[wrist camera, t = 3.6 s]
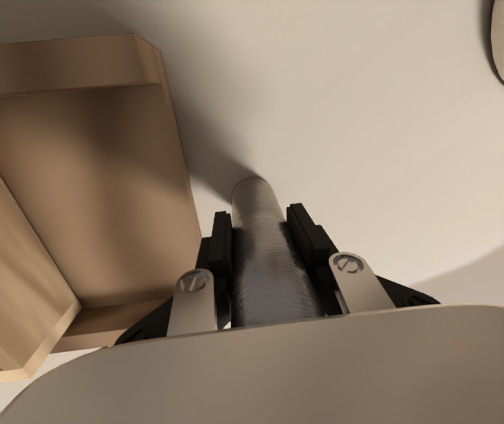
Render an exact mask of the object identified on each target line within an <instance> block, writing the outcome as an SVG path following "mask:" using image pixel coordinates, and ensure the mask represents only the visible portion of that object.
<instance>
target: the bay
mask: <svg viewBox="0 0 504 424" xmlns="http://www.w3.org/2000/svg"><path fill="white" fill-rule="evenodd" d="M0 177H1V179H2V180H3V182H4V183H5V185H6V187H7V188H8V190H9V191H10V193H11V195H12V196H13V198H14V199H15V201H16V203H17V204H18V206H19V207H20V209H21V211H22V212H23V214H24V215H25V217H26V219H27V220H28V222H29V223H30V225H31V226H32V228H33V230H34V231H35V233H36V234H37V236H38V238H39V239H40V241H41V242H42V244H43V246H44V247H45V249H46V250H47V252H48V254H49V255H50V257H51V258H52V260H53V262H54V263H55V265H56V266H57V268H58V269H59V271H60V273H61V274H62V276H63V277H64V279H65V281H66V282H67V284H68V285H69V287H70V289H71V290H72V292H73V293H74V295H75V297H76V298H77V300H78V301H79V303H80V305H81V306H82V308H81V310H80V311H79V313H78V314H77V315H76V317H75V318H74V320H73V321H72V322H71V324H70V325H69V327H68V328H67V329H66V331H65V332H64V334H63V335H62V336H61V338H60V339H59V341H58V342H57V343H56V345H55V346H54V348H53V349H52V350H51V352H50V353H49V354H52V353H59V352H67V351H75V350H82V349H90V348H98V347H104V346H106V345H107V346H113V345H114V343H115V342H116V340H117V339H118V338H119V336H120V335H121V334H123V333H124V332H125V331H126V330H127V329H129V328H130V327H131V326H133V325H134V324H136V323H137V322H138V321H140V320H141V319H142V318H144V317H145V316H146V315H148V314H149V313H151V312H152V311H153V310H155V309H156V308H157V307H159V306H160V305H161V304H163V303H164V302H166V301H167V300H168V299H170V298H171V297H172V296H174V292H175V286H176V283H177V280H178V279H179V278H180V277H181V276H182V275H183V274H184V273H186V272H188V271H190V270H193V269H195V266H196V261H197V257H198V252H199V248H200V243H201V239H202V235H201V231H200V226H199V222H198V218H197V213H196V209H195V204H194V200H193V195H192V191H191V186H190V182H189V177H188V173H187V168H186V164H185V159H184V155H183V150H182V146H181V141H180V137H179V132H178V128H177V123H176V119H175V114H174V110H173V105H172V101H171V96H170V92H169V87H168V83H167V79H166V74H165V70H164V65H163V61H162V56H161V52H160V50H159V49H157V48H156V47H154V46H153V45H151V44H150V43H148V42H147V41H145V40H144V39H142V38H141V37H139V36H138V35H136V34H134V33H129V34H116V35H104V36H92V37H80V38H68V39H55V40H43V41H31V42H19V43H7V44H0Z"/></svg>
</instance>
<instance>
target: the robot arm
mask: <svg viewBox="0 0 504 424" xmlns="http://www.w3.org/2000/svg"><path fill="white" fill-rule="evenodd" d="M491 43H492V52H493V59H494V62H495V64H496V67H497V70H498V73H499V75H500V77H501V78H502V79H503V81H504V0H495V2H494V6H493V11H492V26H491ZM287 225H288V227H289V230H290V232H291V234H292V237H293V239H294V241H295V244H296V246H297V248H298V251H299V253H300V255H301V258H302V260H303V263H304V265H305V267H306V270H307V272H308V274H309V277H310V279H311V281H312V284H313V286H314V288H315V291H316V293H317V296H318V298H319V300H320V303H321V305H322V307H323V310H324V312H325V314H326V316H325V317H317V318H309V319H300V320H292V321H284V322H276V323H268V324H260V325H252V326H244V327H236V328H228V329H224V327H225V326H226V325H227V324H228V323H229V322H231V284H232V222H231V215H230V213H229V214H226V211H222V212H215V217H214V224H213V230H212V237H205V238H202V239H201V243H200V248H199V252H198V257H197V261H196V266H195V269H193V270H190V271H188V272H186V273H184V274H183V275H182V276H181V277H180V278H179V279H178V280H177V283H176V286H175V292H174V296H172V297H171V298H170V299H168V300H167V301H166V302H164V303H163V304H161V305H160V306H159V307H157V308H156V309H155V310H153V311H152V312H151V313H149V314H148V315H146V316H145V317H144V318H142V319H141V320H140V321H138V322H137V323H136V324H134V325H133V326H131V327H130V328H129V329H127V330H126V331H125V332H124V333H123V334H121V335H120V336H119V338H118V339H117V340H116V342H115V343H114V345H113V346H111V347H108V346H107V345H106V346H104V347H102V348H100V349H98V350H96V351H94V352H91V353H88V354H85V355H82V356H80V357H77V358H75V359H73V360H71V361H69V362H66V363H64V364H62V365H60V366H58V367H56V368H54V369H52V370H51V371H49V372H47V373H45V374H44V375H42V376H41V377H39V378H37V379H36V380H35V381H33V382H32V383H31V384H29V385H28V386H27V387H26V388H25V389H23V390H22V391H21V392H20V393H19V394H18V395H17V396H16V397H15V398H14V399H13V400H12V401H11V402H10V403H9V404H8V405H7V407H6V408H5V409H4V410H3V411H2V412H1V413H0V424H504V306H500V305H493V304H492V305H491V304H480V303H450V304H441V303H440V302H438V301H437V300H436V299H434V298H433V297H430V296H428V295H426V294H424V293H421V292H419V291H416V290H414V289H411V288H408V287H406V286H403V285H401V284H398V283H395V282H393V281H390V280H387V279H385V278H382V277H380V276H377V275H375V274H374V273H373V271H372V270H371V268H370V267H369V265H368V264H367V262H366V261H365V260H364V259H363V258H361V257H360V256H358V255H356V254H353V253H349V252H339V251H338V249H337V248H336V246H335V245H334V244H333V242H332V241H331V239H330V238H329V236H328V235H327V233H326V232H325V230H324V229H323V227H322V226H321V225H315V224H314V222H313V221H312V219H311V217H310V216H309V214H308V213H307V211H306V210H305V208H304V206H303V205H302V203H296V204H290V207H287Z"/></svg>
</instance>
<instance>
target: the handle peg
mask: <svg viewBox="0 0 504 424" xmlns="http://www.w3.org/2000/svg"><path fill="white" fill-rule="evenodd" d="M325 316H326V314H325V312H324V310H323V307H322V305H321V303H320V300H319V298H318V296H317V293H316V291H315V288H314V286H313V284H312V281H311V279H310V277H309V274H308V272H307V270H306V267H305V265H304V263H303V260H302V258H301V255H300V253H299V251H298V248H297V246H296V244H295V241H294V239H293V237H292V234H291V232H290V230H289V227H288V225H287V222H286V220H285V218H284V215H283V213H282V211H281V208H280V206H279V204H278V201H277V199H276V197H275V194H274V192H273V189H272V187H271V186H270V185H269V184H268V183H267V182H266V181H265V180H263V179H260V178H248V179H245V180H243V181H241V182H240V183H239V184H238V185H237V186H236V187H235V189H234V191H233V194H232V284H231V328H236V327H244V326H252V325H260V324H268V323H276V322H284V321H292V320H300V319H309V318H317V317H325Z"/></svg>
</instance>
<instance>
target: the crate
mask: <svg viewBox="0 0 504 424" xmlns="http://www.w3.org/2000/svg"><path fill="white" fill-rule="evenodd" d="M81 308H82V306H81V305H80V303H79V301H78V300H77V298H76V297H75V295H74V293H73V292H72V290H71V289H70V287H69V285H68V284H67V282H66V281H65V279H64V277H63V276H62V274H61V273H60V271H59V269H58V268H57V266H56V265H55V263H54V262H53V260H52V258H51V257H50V255H49V254H48V252H47V250H46V249H45V247H44V246H43V244H42V242H41V241H40V239H39V238H38V236H37V234H36V233H35V231H34V230H33V228H32V226H31V225H30V223H29V222H28V220H27V219H26V217H25V215H24V214H23V212H22V211H21V209H20V207H19V206H18V204H17V203H16V201H15V199H14V198H13V196H12V195H11V193H10V191H9V190H8V188H7V187H6V185H5V183H4V182H3V180H2V179H1V177H0V382H7V381H14V380H22V379H30V378H32V377H33V376H34V374H35V373H36V371H37V370H38V369H39V367H40V366H41V364H42V363H43V362H44V360H45V359H46V357H47V356H48V355H49V353H50V352H51V350H52V349H53V348H54V346H55V345H56V343H57V342H58V341H59V339H60V338H61V336H62V335H63V334H64V332H65V331H66V329H67V328H68V327H69V325H70V324H71V322H72V321H73V320H74V318H75V317H76V315H77V314H78V313H79V311H80V310H81Z"/></svg>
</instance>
